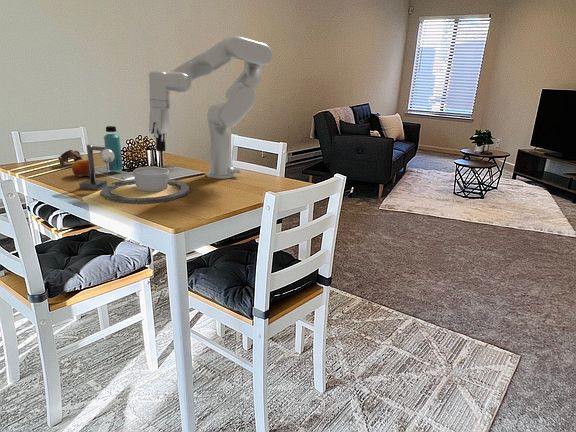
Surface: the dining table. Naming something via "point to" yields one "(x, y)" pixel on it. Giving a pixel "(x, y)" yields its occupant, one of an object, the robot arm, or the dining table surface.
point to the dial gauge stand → (92, 183)
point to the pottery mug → (69, 156)
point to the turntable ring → (109, 195)
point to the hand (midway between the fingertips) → (160, 150)
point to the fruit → (81, 168)
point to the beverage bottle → (113, 148)
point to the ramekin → (151, 178)
